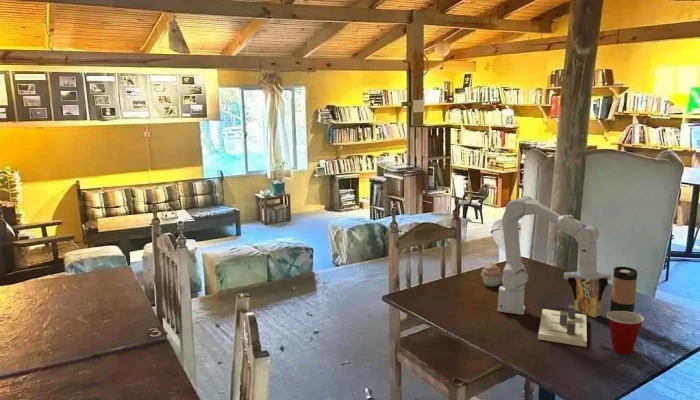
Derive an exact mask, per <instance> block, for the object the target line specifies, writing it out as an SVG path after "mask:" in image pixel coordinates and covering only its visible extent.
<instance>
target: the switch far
mask: <svg viewBox="0 0 700 400" xmlns="http://www.w3.org/2000/svg"><path fill="white" fill-rule="evenodd" d="M567 308H568V309H567V312H568V317H569V318H575V313H576V306H574V304H573V305H572V304H568V307H567Z"/></svg>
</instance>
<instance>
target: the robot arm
mask: <svg viewBox="0 0 700 400" xmlns="http://www.w3.org/2000/svg"><path fill="white" fill-rule="evenodd" d="M531 215H536V216H538V217H541V218H543V219H545V220H547V221H550V222H551V223H553V224H555V225H556V227H557V229H558V230H560V231H562V232H563V233H565V234H567V235H569V236H570V237H572V238H575V241H576V243H577V244H578V245H577V251H578V253H577V256H578V257H577V267H578V269H577V271H569V272H567V271H566V272H563V276H564V277H563V278H564V280H567V282H568V283H569V286H570V287H571V290H572V293H573V299H574V301H575V300H577V294H576V286H577V283H576V279H598V300H599V301H601V298H602V299H603V294H604V291H605V289H606V287H607V286H608V284H609V281H612V274H611V273H610V272H601V271H597V264H598V263H597V259H598V258H597V255H598V254H597V249H598V248H597V240H598V239H599V238H600V231H599V229H598V228H597V227H596V226H594V224H587V223H586V222H581V221H580V220H578V219H575V218H574V215H572V214H563V215H561V214H560V213H558V212H557V211H554V210H553V209H552V208H550V207H547V206H545V205H544V204H543V203H541V202H539V201H538V200H537V199H535V198H533V197H531V196H529V195H524V196H522V197H518V198H517V199H516V198H515V199H512V200H510V201H509V202H508V203H507V204H506V205H505V210H504V213H503V215H502V221H501V222H502V231H503V240H504V251H505V261H506V262H505V263H506V264H505V266H504V268H503V270H502V271H503V272H502V273H503V275H502V277H501V283H502V285H499V286H498V287H499V288H498V296H497V312H500V313H501V312H502V313H506V314H507V313H508V314H516V315H522V316H523V315H524V314H525V309H526V306H525V305H524V303H525V286H526V283H527V282H528V280H529V274H528V272H527V270H526V265H525V264H523V263H522V254H521V243H520V233H519V221H521V219H522V218H523V217H525V216H531Z"/></svg>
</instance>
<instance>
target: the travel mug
mask: <svg viewBox="0 0 700 400" xmlns="http://www.w3.org/2000/svg"><path fill="white" fill-rule="evenodd" d="M637 281H638V270H637V269H635V268H632V267H627V266H616V267H614V269H613V275H612V282H611V283H612V284H611V294H610V307H609V312H611V311H627V312H633V313H634V311H635V310H634V309H635V303H636V302H635V301H636V293H637Z"/></svg>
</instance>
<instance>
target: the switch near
mask: <svg viewBox="0 0 700 400" xmlns="http://www.w3.org/2000/svg"><path fill="white" fill-rule="evenodd" d="M567 334H572V335H575V321H570V320H568V323H567Z"/></svg>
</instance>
